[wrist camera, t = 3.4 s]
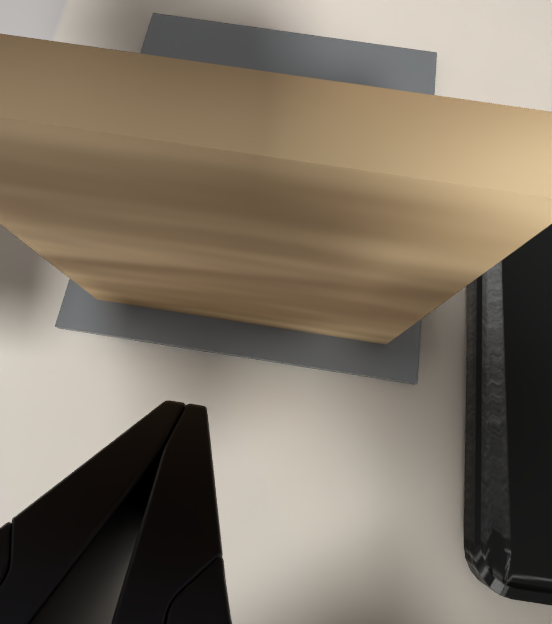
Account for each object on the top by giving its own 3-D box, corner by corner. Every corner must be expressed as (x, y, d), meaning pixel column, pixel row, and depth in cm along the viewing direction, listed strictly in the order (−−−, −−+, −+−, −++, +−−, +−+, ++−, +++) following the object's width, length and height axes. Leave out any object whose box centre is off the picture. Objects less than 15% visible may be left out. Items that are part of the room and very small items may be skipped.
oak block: (386, 344, 15) (581, 202, 6) (97, 299, 16) (-170, 91, 6) (389, 306, 16) (575, 115, 6) (107, 263, 16) (-126, 15, 7)
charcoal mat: (414, 384, 15) (417, 383, 15) (58, 328, 16) (55, 326, 15) (434, 58, 20) (436, 52, 19) (154, 19, 20) (153, 13, 20)
